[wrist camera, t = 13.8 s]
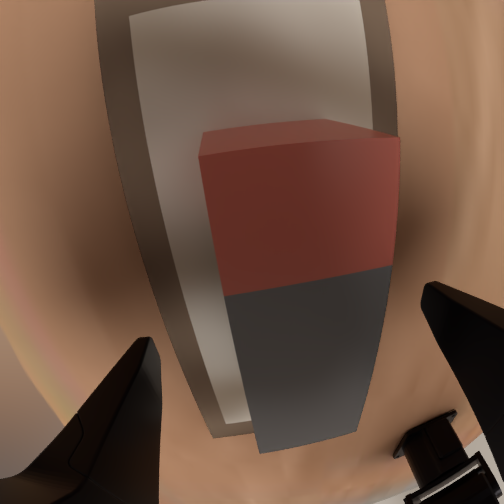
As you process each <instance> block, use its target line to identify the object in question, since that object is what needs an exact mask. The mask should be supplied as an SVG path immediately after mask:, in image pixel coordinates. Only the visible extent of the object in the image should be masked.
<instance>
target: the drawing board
mask: <svg viewBox="0 0 504 504" xmlns="http://www.w3.org/2000/svg"><path fill="white" fill-rule="evenodd" d="M94 2H95V18H96V31H97V41H98V51H99V60H100V68H101V75H102V83H103V89H104V96H105V102H106V108H107V114H108V120H109V125H110V130H111V135H112V141H113V145H114V150H115V155H116V160H117V164H118V169H119V173H120V177H121V182H122V186H123V190H124V194H125V198H126V202H127V206H128V210H129V213H130V217H131V221H132V224H133V228H134V232H135V235H136V239H137V242H138V245H139V249H140V252H141V255H142V259H143V262H144V265H145V268H146V271H147V275H148V278H149V281H150V284H151V287H152V290H153V293H154V296H155V299H156V302H157V305H158V307H159V310H160V313H161V316H162V319H163V321H164V324H165V327H166V329H167V332H168V335H169V337H170V340H171V343H172V345H173V348H174V350H175V353H176V355H177V358H178V360H179V363H180V365H181V368H182V370H183V373H184V375H185V378H186V380H187V382H188V385H189V387H190V389H191V392H192V394H193V396H194V398H195V401H196V403H197V405H198V407H199V410H200V412H201V414H202V416H203V418H204V420H205V423H206V425H207V427H208V429H209V431H210V433H211V435H212V437H213V438H220V437H228V436H236V435H243V434H250V433H254V429H253V425H252V421H251V417H250V412H249V408H248V404H247V400H246V396H245V391H244V387H243V383H242V378H241V374H240V369H239V365H238V361H237V356H236V352H235V347H234V342H233V338H232V333H231V328H230V324H229V319H228V314H227V309H226V305H225V300H224V295H223V290H222V285H221V280H220V275H219V270H218V265H217V260H216V254H215V249H214V244H213V239H212V233H211V228H210V222H209V217H208V211H207V206H206V200H205V194H204V189H203V183H202V177H201V171H200V165H199V159H198V154H199V150H200V145H201V140H202V135H203V132H208V131H214V130H221V129H227V128H235V127H242V126H250V125H258V124H267V123H277V122H288V121H300V120H315V119H328V120H333V121H338V122H342V123H347V124H351V125H355V126H359V127H363V128H367V129H371V130H375V131H379V132H382V133H386V134H390V135H393V136H397V137H398V132H397V102H396V86H395V73H394V62H393V53H392V44H391V36H390V29H389V22H388V16H387V10H386V4H385V0H94Z"/></svg>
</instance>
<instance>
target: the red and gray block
mask: <svg viewBox="0 0 504 504" xmlns="http://www.w3.org/2000/svg"><path fill="white" fill-rule="evenodd" d="M198 159H199V165H200V171H201V177H202V183H203V189H204V194H205V200H206V206H207V211H208V217H209V222H210V228H211V233H212V239H213V244H214V249H215V254H216V260H217V265H218V270H219V275H220V280H221V285H222V290H223V295H224V300H225V305H226V309H227V314H228V319H229V324H230V328H231V333H232V338H233V342H234V347H235V352H236V356H237V361H238V365H239V369H240V374H241V378H242V383H243V387H244V391H245V396H246V400H247V404H248V408H249V412H250V417H251V421H252V425H253V429H254V433H255V437H256V441H257V445H258V449H259V453H260V454H261V453H267V452H273V451H278V450H284V449H289V448H293V447H298V446H303V445H307V444H311V443H315V442H320V441H324V440H327V439H331V438H335V437H338V436H342V435H346V434H349V433H352V432H356V430H357V427H358V424H359V421H360V417H361V414H362V411H363V407H364V404H365V400H366V396H367V393H368V389H369V385H370V381H371V377H372V373H373V369H374V365H375V361H376V356H377V352H378V347H379V342H380V337H381V332H382V327H383V322H384V317H385V311H386V305H387V299H388V293H389V286H390V279H391V272H392V264H393V256H394V247H395V238H396V227H397V214H398V199H399V178H400V137H397V136H393V135H390V134H386V133H382V132H379V131H375V130H371V129H367V128H363V127H359V126H355V125H351V124H347V123H342V122H338V121H333V120H328V119H315V120H300V121H288V122H277V123H267V124H258V125H250V126H242V127H235V128H227V129H221V130H214V131H208V132H203V135H202V140H201V145H200V150H199V154H198Z"/></svg>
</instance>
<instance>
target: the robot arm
mask: <svg viewBox="0 0 504 504" xmlns="http://www.w3.org/2000/svg"><path fill="white" fill-rule="evenodd" d="M421 309H422V311H423V314H424V316H425V318H426V320H427V322H428V324H429V326H430V328H431V331H432V333H433V335H434V337H435V339H436V341H437V343H438V345H439V347H440V349H441V351H442V352H443V354H444V356H445V358H446V360H447V361H448V363H449V365H450V367H451V369H452V371H453V372H454V374H455V376H456V378H457V380H458V382H459V384H460V386H461V387H462V389H463V391H464V393H465V395H466V397H467V399H468V401H469V403H470V405H471V407H472V409H473V412H474V414H475V416H476V418H477V420H478V422H479V424H480V426H481V429H482V431H483V433H484V435H485V438H486V440H487V442H488V445H489V447H490V449H491V452H492V454H493V457H494V459H495V462H496V464H497V467H498V469H499V472H500V474H501V477H502V480H503V482H504V309H503V308H501V307H498V306H496V305H494V304H491V303H489V302H486V301H484V300H482V299H479V298H477V297H474V296H472V295H470V294H467V293H465V292H462V291H460V290H457V289H455V288H452V287H450V286H447V285H445V284H442V283H440V282H437V281H433V282H429V283H426V284H425V286H424V289H423V294H422V299H421ZM77 413H78V414H77ZM77 413H76V414H75V415H74V416H73V418H72V419H71V420H70V421H69V422H68V424H67V425H66V426H65V427H64V428H63V430H62V431H61V432H60V433H59V434H58V435H57V436H56V438H55V439H54V440H53V441H52V442H51V443H50V444H49V445H48V446H47V447H46V448H45V449H44V450H43V451H42V453H40V455H39V456H38V457H37V458H36V459H35V460H34V461H33V462H32V463H31V464H30V465H29V466H28V467H27V468H26V469H25V470H23V471H22V472H21V473H19V474H17V475H15V476H12V477H8V478H3V479H0V504H159V460H160V436H161V418H162V385H161V361H160V356H159V353H158V351H157V349H156V346H155V344H154V342H153V339H152V338H151V337H140V338H138V339H136V341H135V342H134V343H133V344H132V345H131V347H130V348H129V349H128V350H127V351H126V353H125V354H124V355H123V356H122V357H121V359H120V360H119V361H118V362H117V363H116V365H115V366H114V367H113V368H112V369H111V371H110V372H109V373H108V374H107V376H106V377H105V378H104V379H103V380H102V382H101V383H100V384H99V385H98V387H97V388H96V389H95V390H94V391H93V393H92V394H91V395H90V396H89V398H88V399H87V400H86V401H85V403H84V404H83V405H82V406H81V408H80V409H79V410H78V411H77ZM456 415H457V412H456V410H454V411H452V412H450V413H448V414H446V415H444V416H442V417H440V418H437V419H435V420H433V421H431V422H429V423H426V424H424V425H422V426H420V427H417V428H415V429H413V430H410V431H409V432H407V433H406V434H405V436H404V438H403V439H402V441H401V443H400V445H399V446H398V448H397V450H396V451H395V453H394V454H393V458H394V459H396V458H399V457H401V456H404V455H405V457H406V459H407V461H408V463H409V466H410V468H411V470H412V472H413V474H414V477H415V479H416V481H417V483H418V486H419V488H420V489H419V490H418V491H416V492H414V493H412V494H408V495H407V496H406V498H405V499H403V500H404V502H405V504H499V502H498V500H497V498H499V497H500V496H502V492H501V489H500V487H499V485H498V483H497V481H496V479H495V477H494V475H493V474H492V472H491V470H490V468H489V467H488V465H487V463H486V461H485V460H484V458H483V456H482V455H481V453H480V451H478V452H476V453H475V455H473V456H472V457H471V458H468V456H467V454H466V452H465V450H464V448H463V447H462V446H463V445H462V443H461V441H460V440H459V438H458V436H457V434H456V433H455V431H454V429H453V427H452V426H451V422H452V421H453V419H454V418H455V416H456ZM476 464H478V466H479V467H477V468H476V469H473V470H472V471H471V472H469V473H468V474H466V475H465V476H463V477H462V478H460V479H459V480H457V481H455V482H454V483H452V484H451V485H449V486H447V487H446V488H444V489H442V490H441V491H439V492H437V493H436V494H434V495H432V496H430V497H428V498H427V499H425V500H423V501H421V500H420V499H422V498H423V497H425V496H427V495H429V494H431V493H432V492H434V491H436V490H437V489H439V488H441V487H443V486H444V485H446V484H448V483H449V482H451V481H452V480H454V479H456V478H457V477H459V476H460V475H462V474H463V473H465V472H466V471H467V470H469V469H471V468H472V467H473V466H475V465H476Z"/></svg>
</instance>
